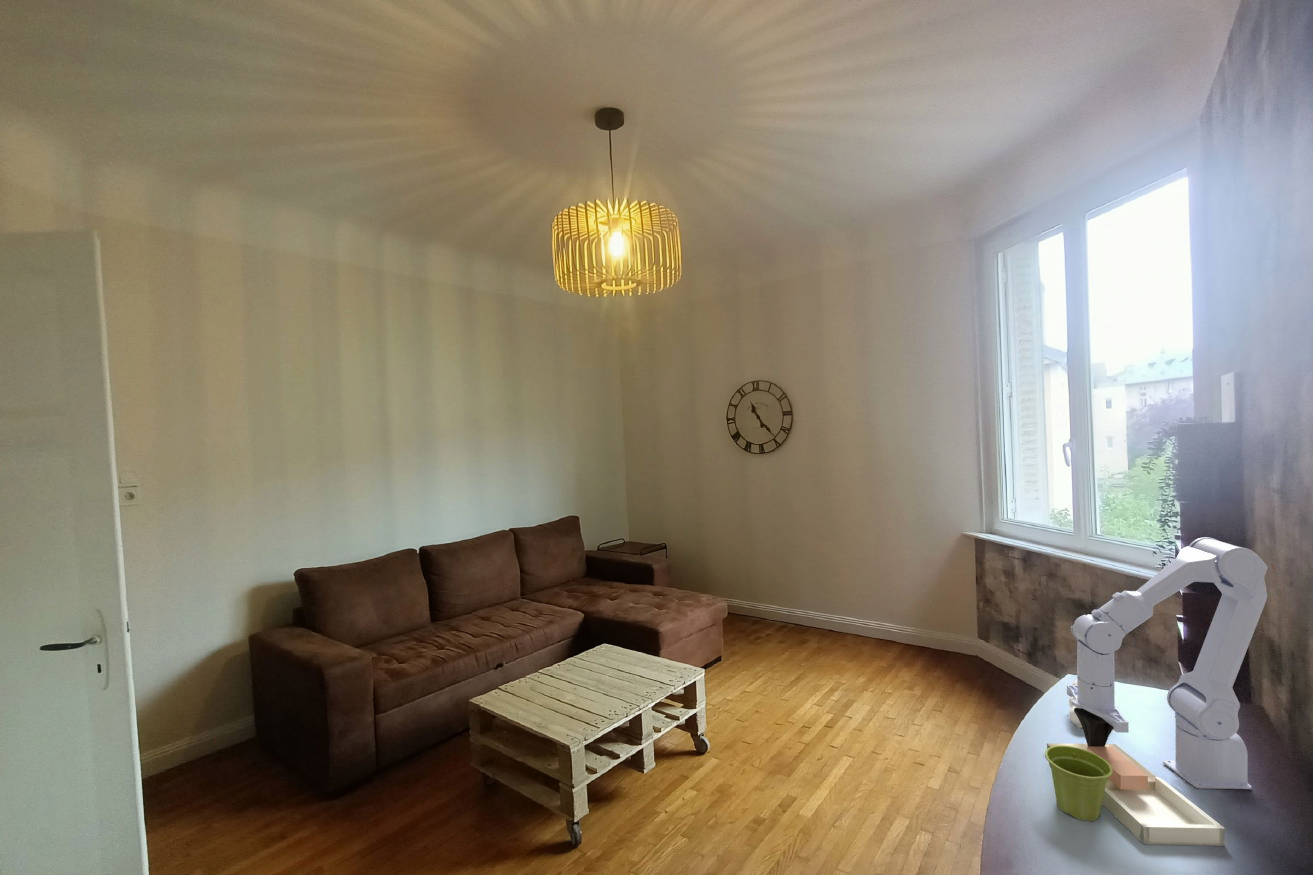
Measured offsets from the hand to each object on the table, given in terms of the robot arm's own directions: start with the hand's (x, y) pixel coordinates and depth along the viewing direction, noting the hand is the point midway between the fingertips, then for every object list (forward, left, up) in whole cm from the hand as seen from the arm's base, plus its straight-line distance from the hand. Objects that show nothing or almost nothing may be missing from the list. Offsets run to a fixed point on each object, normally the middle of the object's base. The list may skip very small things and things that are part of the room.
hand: (1095, 749), depth 113 cm
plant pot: (+11, +13, -4) cm, 17 cm away
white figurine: (-9, -17, -4) cm, 20 cm away
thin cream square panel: (0, +2, -3) cm, 4 cm away
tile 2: (0, +8, -1) cm, 8 cm away
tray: (0, +14, -3) cm, 15 cm away
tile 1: (0, +3, -1) cm, 3 cm away
